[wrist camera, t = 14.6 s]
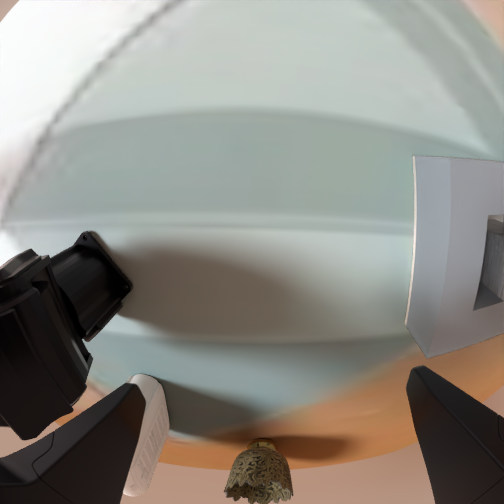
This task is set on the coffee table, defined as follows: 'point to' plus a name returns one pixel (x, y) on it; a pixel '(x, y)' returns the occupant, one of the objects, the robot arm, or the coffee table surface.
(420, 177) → the square well
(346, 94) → the coffee table surface
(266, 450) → the brown ornate lampshade
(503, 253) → the metal bar
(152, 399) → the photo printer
